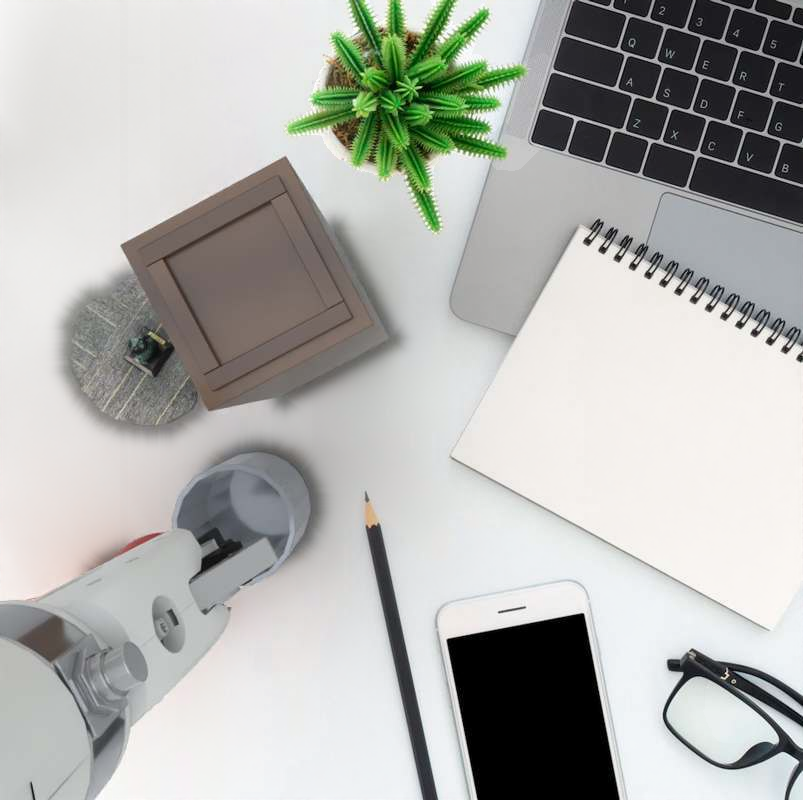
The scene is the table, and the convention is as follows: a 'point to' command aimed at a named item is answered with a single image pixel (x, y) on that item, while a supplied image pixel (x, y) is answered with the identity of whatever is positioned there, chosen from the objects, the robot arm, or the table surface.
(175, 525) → the steel cup
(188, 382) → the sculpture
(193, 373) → the crate
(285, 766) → the table surface
